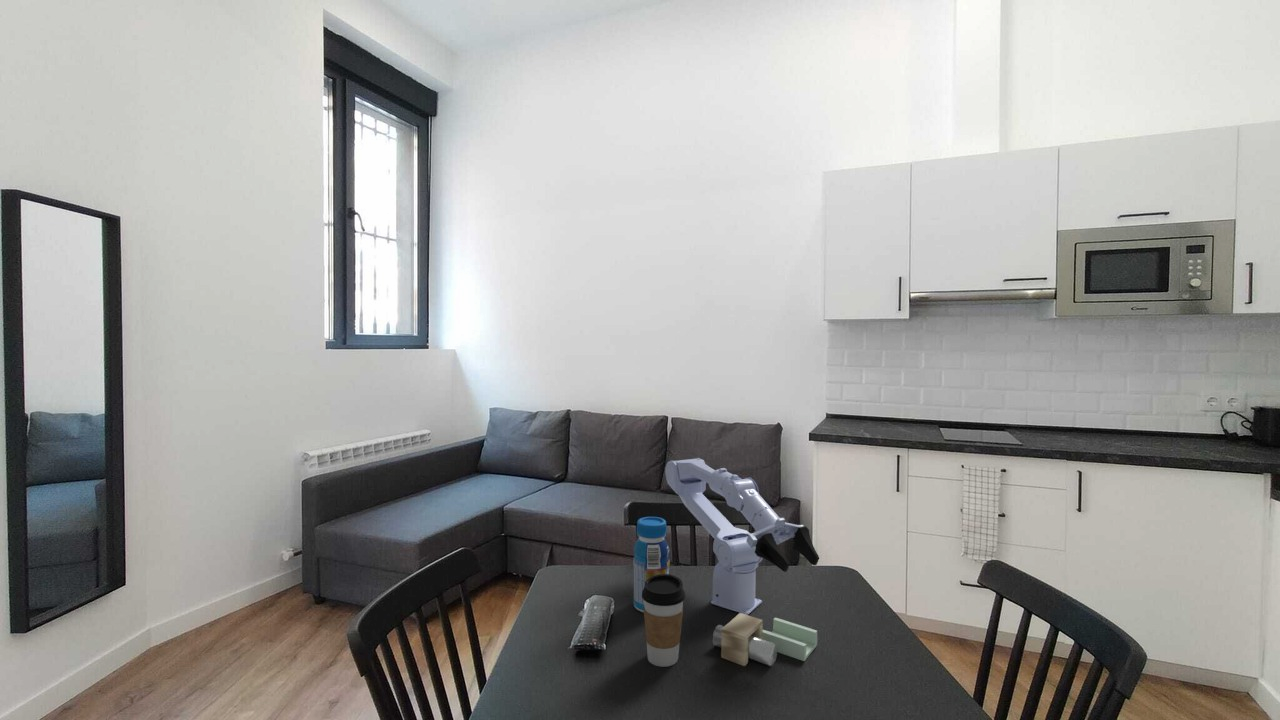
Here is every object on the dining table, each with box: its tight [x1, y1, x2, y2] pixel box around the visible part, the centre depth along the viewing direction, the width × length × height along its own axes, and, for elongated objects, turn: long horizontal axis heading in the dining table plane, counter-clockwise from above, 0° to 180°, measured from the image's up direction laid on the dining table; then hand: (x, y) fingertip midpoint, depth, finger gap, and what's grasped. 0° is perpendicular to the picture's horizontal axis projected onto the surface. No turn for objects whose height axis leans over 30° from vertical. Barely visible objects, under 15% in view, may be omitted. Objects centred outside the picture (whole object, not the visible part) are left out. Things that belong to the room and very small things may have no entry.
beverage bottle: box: [632, 516, 671, 613], centre depth 132 cm, size 8×8×20 cm
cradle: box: [762, 617, 818, 662], centre depth 116 cm, size 9×7×3 cm
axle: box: [712, 624, 778, 667], centre depth 113 cm, size 12×4×4 cm, turn 54°
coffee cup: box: [642, 573, 686, 668], centre depth 111 cm, size 8×8×15 cm
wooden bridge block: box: [720, 612, 764, 667], centre depth 113 cm, size 5×8×6 cm, turn 144°
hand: (802, 564), depth 114 cm, fingers open, 7 cm apart
